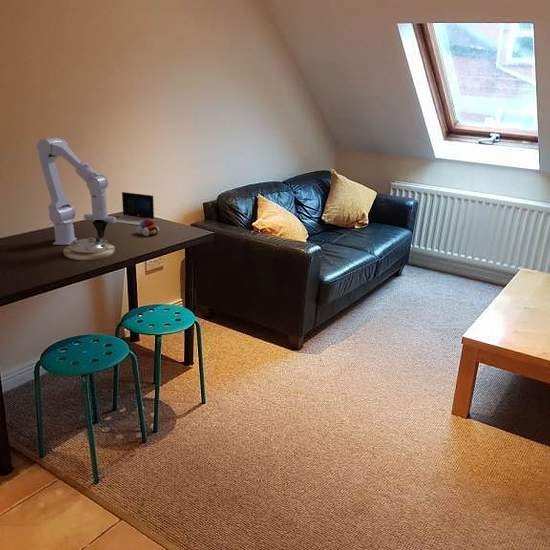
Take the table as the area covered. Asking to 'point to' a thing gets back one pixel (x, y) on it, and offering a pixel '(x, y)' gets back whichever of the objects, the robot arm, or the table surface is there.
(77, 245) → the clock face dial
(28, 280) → the table surface
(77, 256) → the base plate
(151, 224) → the red white round cluster
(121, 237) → the table surface
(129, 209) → the laptop
